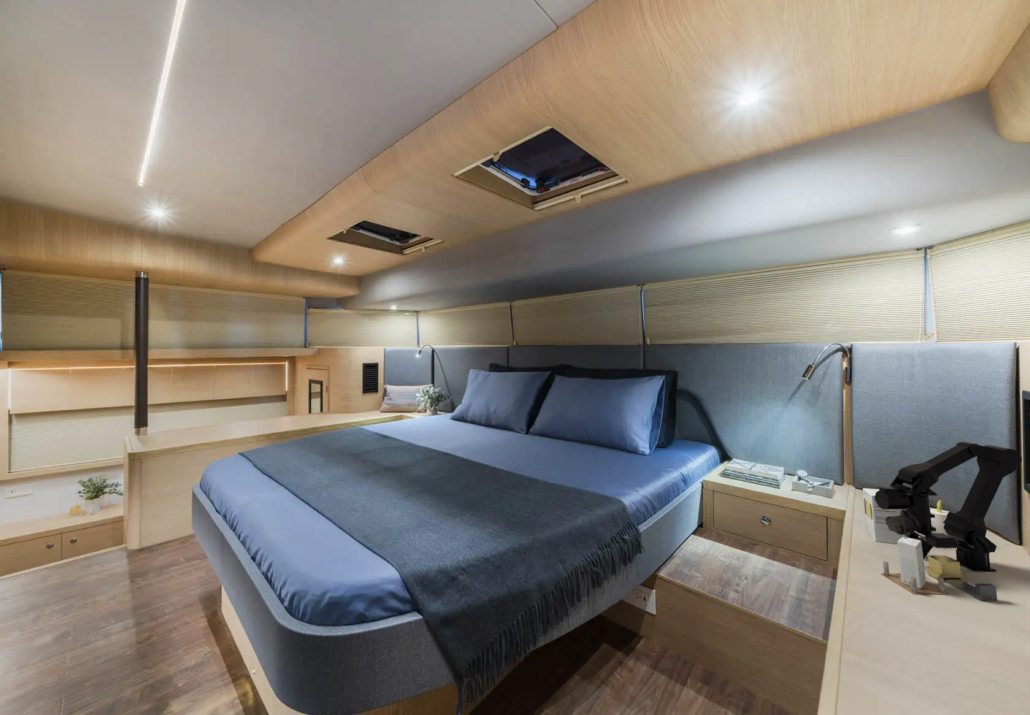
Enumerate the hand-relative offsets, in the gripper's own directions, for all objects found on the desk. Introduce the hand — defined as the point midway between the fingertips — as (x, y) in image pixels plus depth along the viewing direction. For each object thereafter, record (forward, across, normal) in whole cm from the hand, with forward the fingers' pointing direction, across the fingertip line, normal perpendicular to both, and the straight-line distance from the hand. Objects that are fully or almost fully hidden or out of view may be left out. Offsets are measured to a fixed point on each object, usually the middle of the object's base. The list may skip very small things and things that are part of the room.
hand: (921, 558), depth 125 cm
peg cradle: (+2, +10, -12) cm, 16 cm away
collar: (+2, +7, 0) cm, 8 cm away
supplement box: (+3, -20, +6) cm, 21 cm away
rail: (+2, +12, 0) cm, 12 cm away
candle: (+2, -18, +22) cm, 28 cm away
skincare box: (+2, +10, -11) cm, 16 cm away
